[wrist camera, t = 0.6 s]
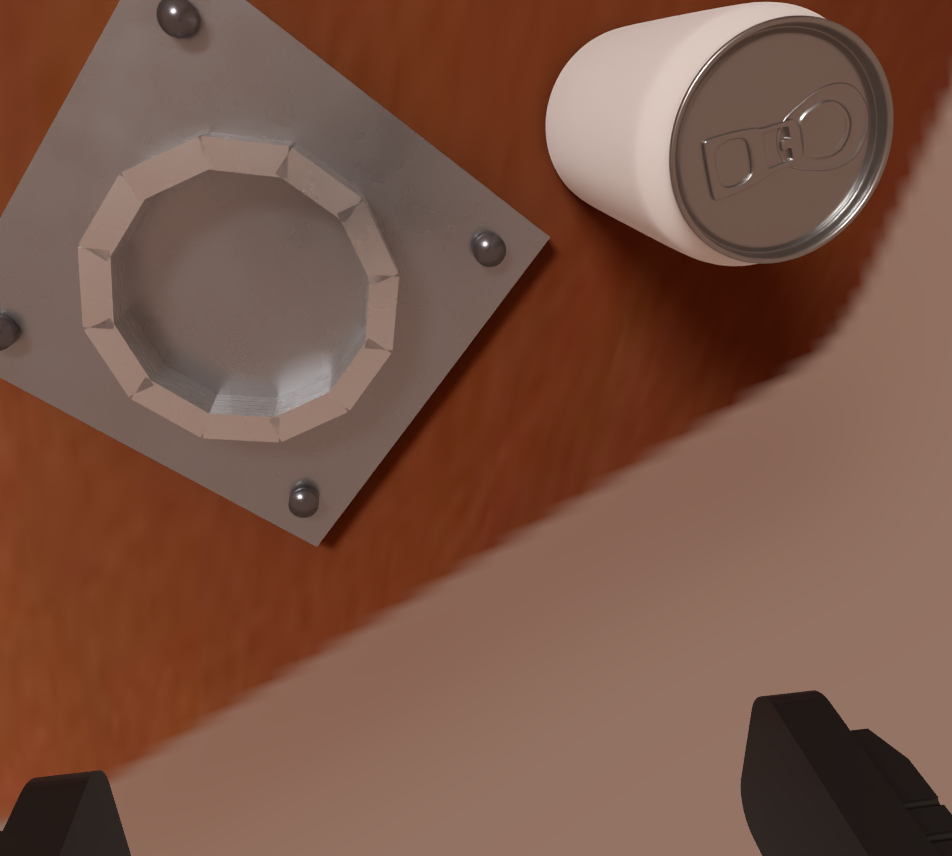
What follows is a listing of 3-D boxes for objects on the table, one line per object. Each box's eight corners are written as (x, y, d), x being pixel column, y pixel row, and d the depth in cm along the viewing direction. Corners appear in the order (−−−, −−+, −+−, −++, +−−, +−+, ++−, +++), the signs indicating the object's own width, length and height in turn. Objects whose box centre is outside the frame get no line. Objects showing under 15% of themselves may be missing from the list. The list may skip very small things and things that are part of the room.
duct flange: (164, -64, 26) (142, -80, 23) (544, 232, 31) (562, 247, 29) (-55, 333, 30) (-96, 359, 27) (317, 535, 35) (315, 573, 32)
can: (723, 178, 31) (921, 231, 21) (567, 234, 31) (682, 316, 21) (691, 0, 29) (900, -49, 18) (521, 60, 29) (624, 49, 18)
